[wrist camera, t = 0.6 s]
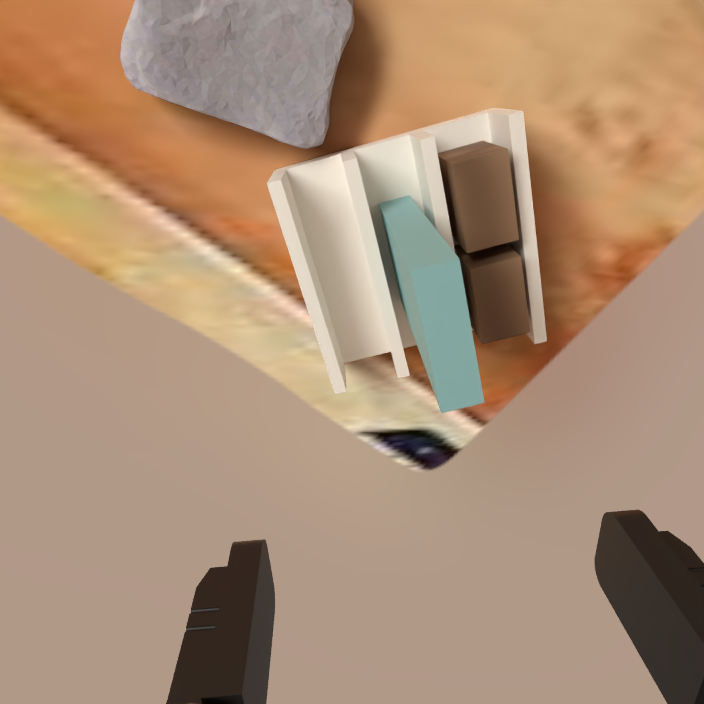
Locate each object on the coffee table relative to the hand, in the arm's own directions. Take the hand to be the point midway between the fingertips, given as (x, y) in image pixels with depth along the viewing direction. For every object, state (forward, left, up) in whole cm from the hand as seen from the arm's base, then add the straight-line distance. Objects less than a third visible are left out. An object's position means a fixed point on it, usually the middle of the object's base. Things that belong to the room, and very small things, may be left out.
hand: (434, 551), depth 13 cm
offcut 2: (-7, +4, -25) cm, 26 cm away
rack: (-3, +1, -27) cm, 27 cm away
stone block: (+3, -14, -27) cm, 31 cm away
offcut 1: (-7, -2, -25) cm, 26 cm away
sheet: (-3, +1, -25) cm, 25 cm away
